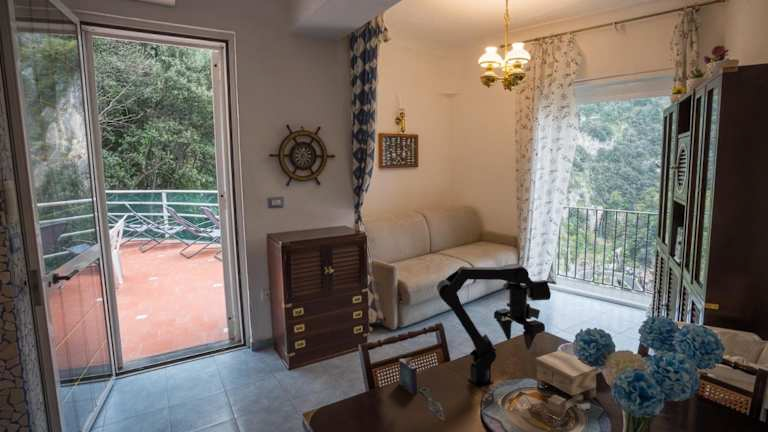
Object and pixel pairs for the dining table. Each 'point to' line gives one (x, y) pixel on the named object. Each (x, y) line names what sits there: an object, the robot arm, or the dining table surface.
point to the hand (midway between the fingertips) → (518, 344)
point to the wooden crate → (566, 374)
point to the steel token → (583, 404)
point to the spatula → (561, 405)
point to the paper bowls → (571, 352)
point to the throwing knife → (435, 403)
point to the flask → (408, 375)
